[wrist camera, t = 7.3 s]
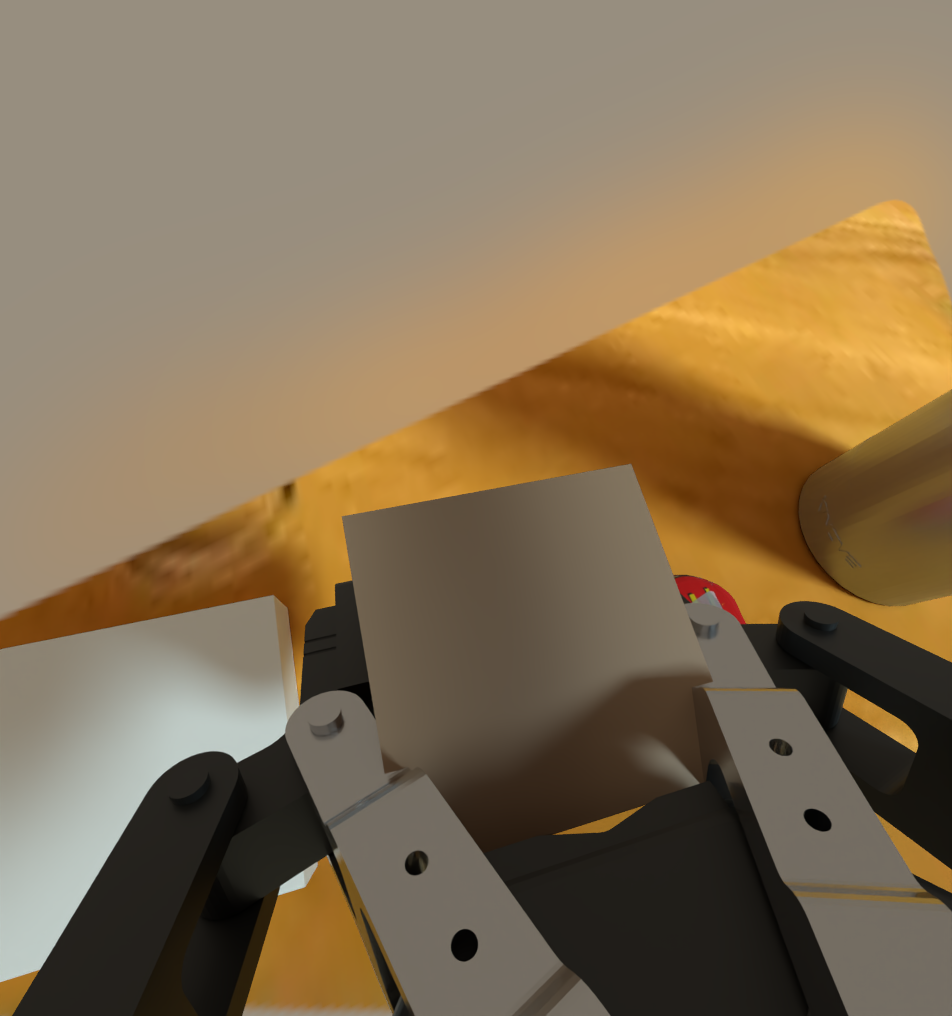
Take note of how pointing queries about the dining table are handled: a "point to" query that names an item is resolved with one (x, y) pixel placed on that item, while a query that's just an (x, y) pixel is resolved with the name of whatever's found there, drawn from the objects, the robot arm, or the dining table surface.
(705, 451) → the dining table surface
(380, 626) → the walnut block
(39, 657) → the riser
